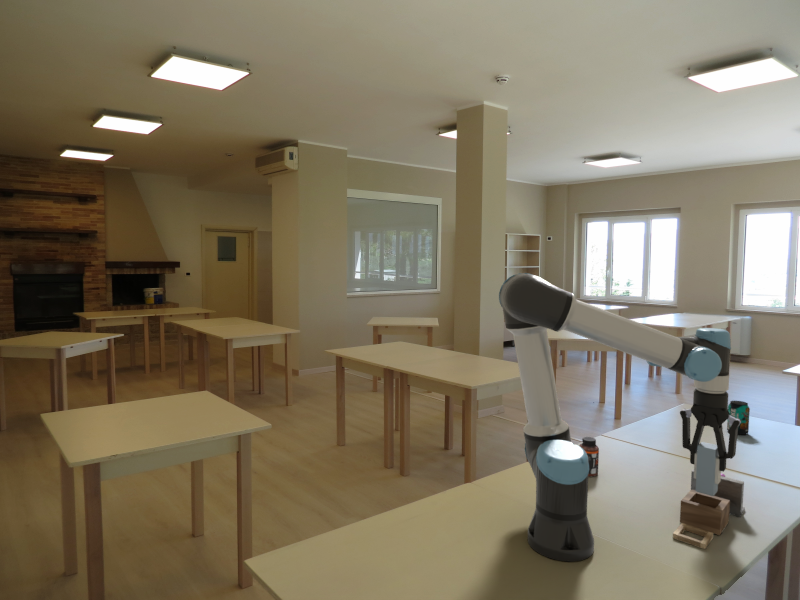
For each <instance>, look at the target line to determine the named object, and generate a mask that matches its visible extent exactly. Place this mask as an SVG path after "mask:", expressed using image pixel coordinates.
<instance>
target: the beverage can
mask: <svg viewBox="0 0 800 600" xmlns="http://www.w3.org/2000/svg"><path fill="white" fill-rule="evenodd" d="M750 410H751V408H750V407H749V403H748V402H745V401H741V400H731V401H730V402H729V403H728V411H729V413H730V416H732V417H734V418H736V419H737V418H739V419H741V423H740V425H739V427H738V432H737V436H746V435H747V434H749V431H750V430H749V428H750V426H749V425H750ZM726 421H727V422H726V431H728V433H730V427H731V426H730V425H729V420H728V419H727V420H726Z"/></svg>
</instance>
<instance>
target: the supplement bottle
mask: <svg viewBox="0 0 800 600" xmlns="http://www.w3.org/2000/svg"><path fill="white" fill-rule="evenodd" d="M581 442H582V443H580V444H579V446H580V447H581V448H583V449H584V450H585V452H586V453H587V456H588V463H589V473H588V478H589V477H590V478H591V477H596V476H598V475H599V459H600V458H599V455H600V449H599V446H598V445H597V439H596V438H594V437H591V436H584V437H582V440H581Z"/></svg>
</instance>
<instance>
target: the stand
mask: <svg viewBox="0 0 800 600" xmlns="http://www.w3.org/2000/svg"><path fill="white" fill-rule="evenodd" d="M685 531H686V532H689V533H692V534H694V535H695V534H696V535H698V536H701V537H703V538H702V540H699V539H697V538H694V537H692V536H689V535H685V534H683V533H684V532H685ZM672 539H675V540H677V541H680V542H683V543H686V544H690V545H692V546H694V547H698V548H700V549H703V550H706V549H707V548H708V545H709V544H710V543H711V542H712V540H713V539H714V533H712V532H709V531H705V530H702V529H699V528H696V527H693V526H690V525H687V524H684V523H680V524H679V526H678V527H677V528H676V529H675V530H674V531H673V533H672Z"/></svg>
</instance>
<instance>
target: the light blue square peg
mask: <svg viewBox="0 0 800 600" xmlns="http://www.w3.org/2000/svg"><path fill="white" fill-rule="evenodd" d="M718 455H719V453H718V448H717V444H714V443H709V442H705V441H700V443H699V445H698V446H697V471H696V492H699V493H703V494H707V495H710V496H714V495H715V494H716V492H717V491H718V484H715V463H716V458H717V457H718Z"/></svg>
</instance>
